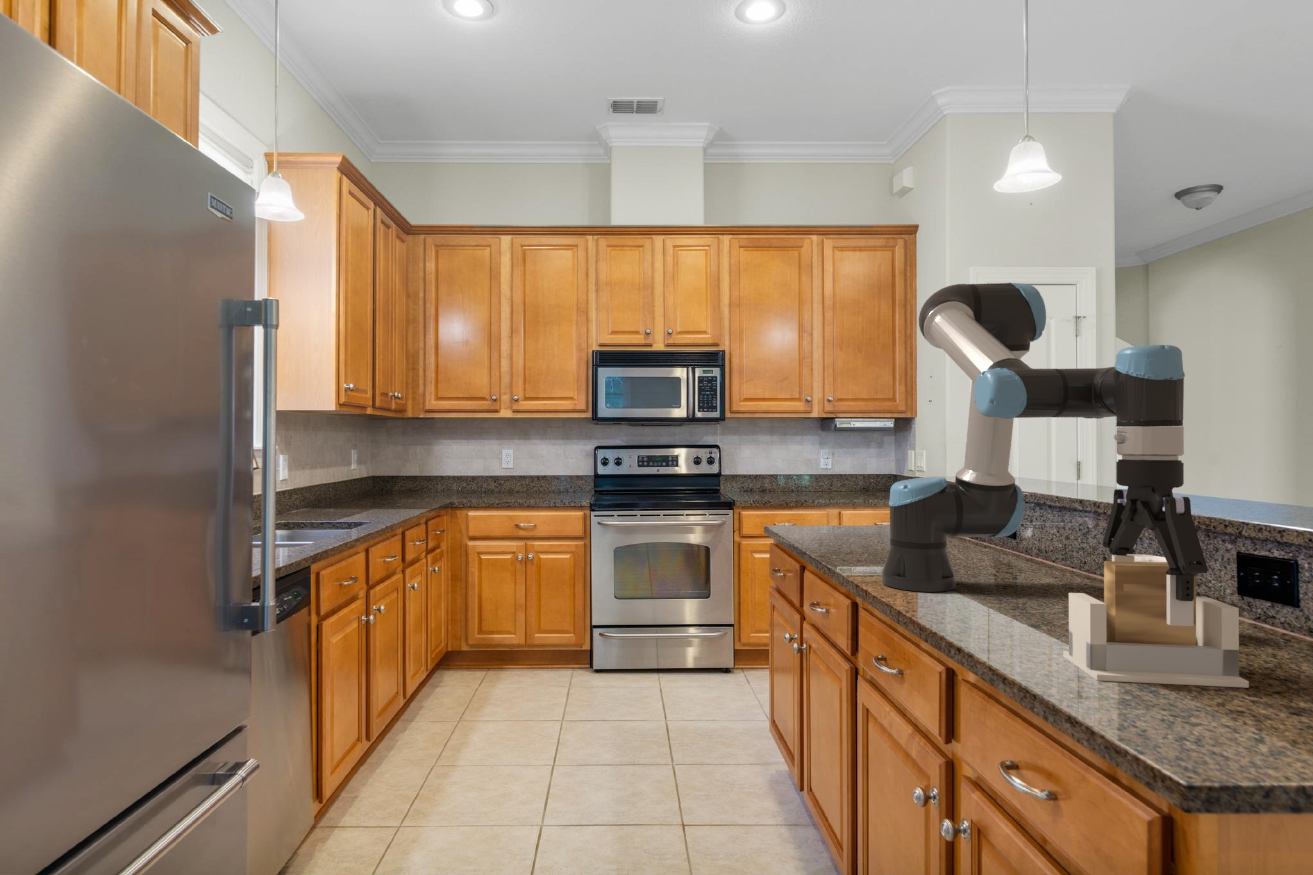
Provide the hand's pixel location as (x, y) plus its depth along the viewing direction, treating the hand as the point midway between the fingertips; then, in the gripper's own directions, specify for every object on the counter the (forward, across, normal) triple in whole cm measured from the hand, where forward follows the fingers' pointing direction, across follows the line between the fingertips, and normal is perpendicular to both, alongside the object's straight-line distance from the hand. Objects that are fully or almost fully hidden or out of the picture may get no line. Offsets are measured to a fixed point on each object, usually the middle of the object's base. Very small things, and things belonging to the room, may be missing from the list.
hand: (1149, 611), depth 93 cm
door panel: (+7, 0, 0) cm, 7 cm away
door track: (+8, 0, 0) cm, 8 cm away
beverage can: (+8, -22, +11) cm, 26 cm away
